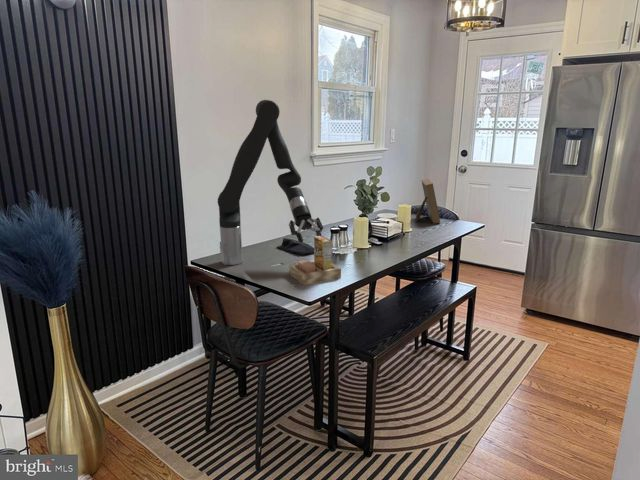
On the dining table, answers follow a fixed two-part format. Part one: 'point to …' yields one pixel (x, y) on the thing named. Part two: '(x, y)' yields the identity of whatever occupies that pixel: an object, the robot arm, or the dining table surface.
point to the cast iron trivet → (296, 247)
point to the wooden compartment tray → (314, 274)
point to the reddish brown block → (306, 266)
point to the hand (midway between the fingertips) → (311, 240)
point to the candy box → (322, 253)
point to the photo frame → (429, 202)
